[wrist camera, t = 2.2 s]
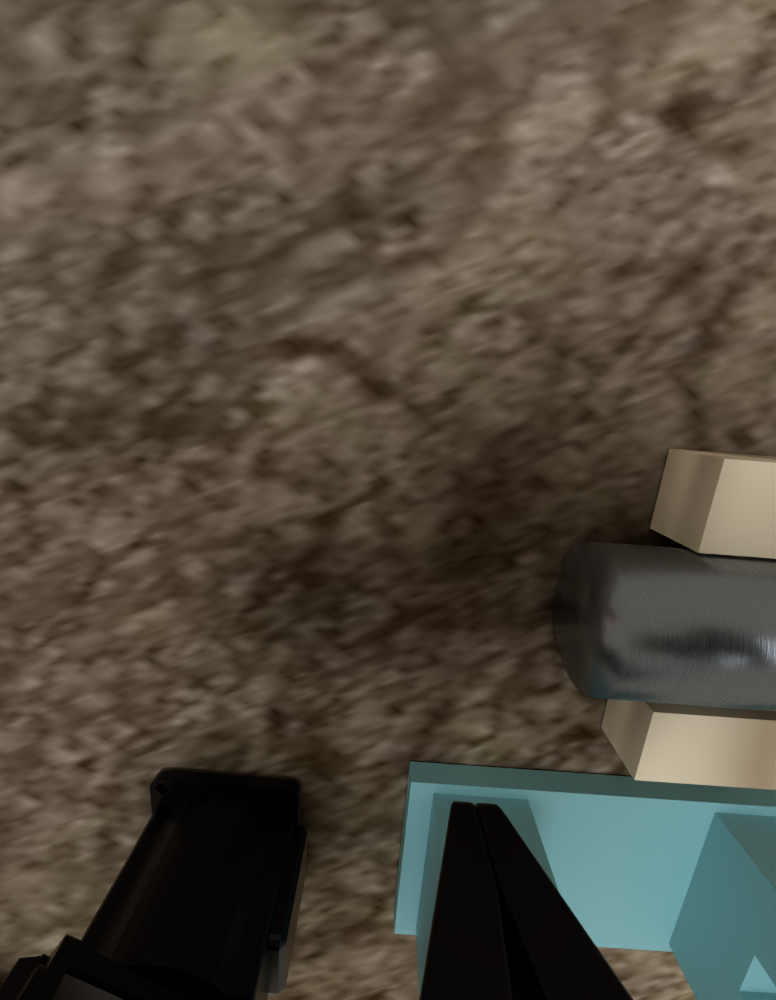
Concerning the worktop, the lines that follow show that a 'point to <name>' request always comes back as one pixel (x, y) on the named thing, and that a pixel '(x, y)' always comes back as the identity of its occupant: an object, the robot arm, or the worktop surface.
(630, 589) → the grey rounded rod
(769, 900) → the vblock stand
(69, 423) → the worktop surface
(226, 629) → the worktop surface
